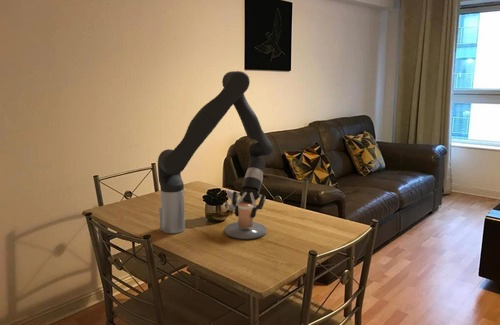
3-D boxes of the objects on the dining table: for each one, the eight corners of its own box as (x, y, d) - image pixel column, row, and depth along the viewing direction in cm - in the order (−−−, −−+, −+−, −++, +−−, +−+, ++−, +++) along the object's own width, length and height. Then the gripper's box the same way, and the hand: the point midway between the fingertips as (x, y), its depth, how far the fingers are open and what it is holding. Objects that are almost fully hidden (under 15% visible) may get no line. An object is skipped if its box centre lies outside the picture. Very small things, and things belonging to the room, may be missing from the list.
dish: (218, 237, 165) (218, 233, 165) (232, 222, 181) (232, 219, 181) (259, 242, 160) (259, 238, 160) (270, 227, 176) (270, 224, 176)
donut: (219, 209, 198) (219, 189, 196) (224, 207, 201) (224, 187, 199) (235, 214, 192) (235, 193, 190) (240, 212, 195) (240, 191, 193)
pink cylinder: (236, 226, 168) (236, 205, 166) (240, 221, 174) (240, 201, 172) (250, 228, 166) (250, 207, 165) (254, 223, 172) (254, 202, 170)
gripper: (234, 174, 175) (225, 210, 167) (268, 177, 171) (259, 214, 162) (238, 183, 181) (229, 218, 173) (270, 186, 177) (263, 222, 169)
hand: (244, 216), depth 168 cm, fingers closed on pink cylinder, 6 cm apart
